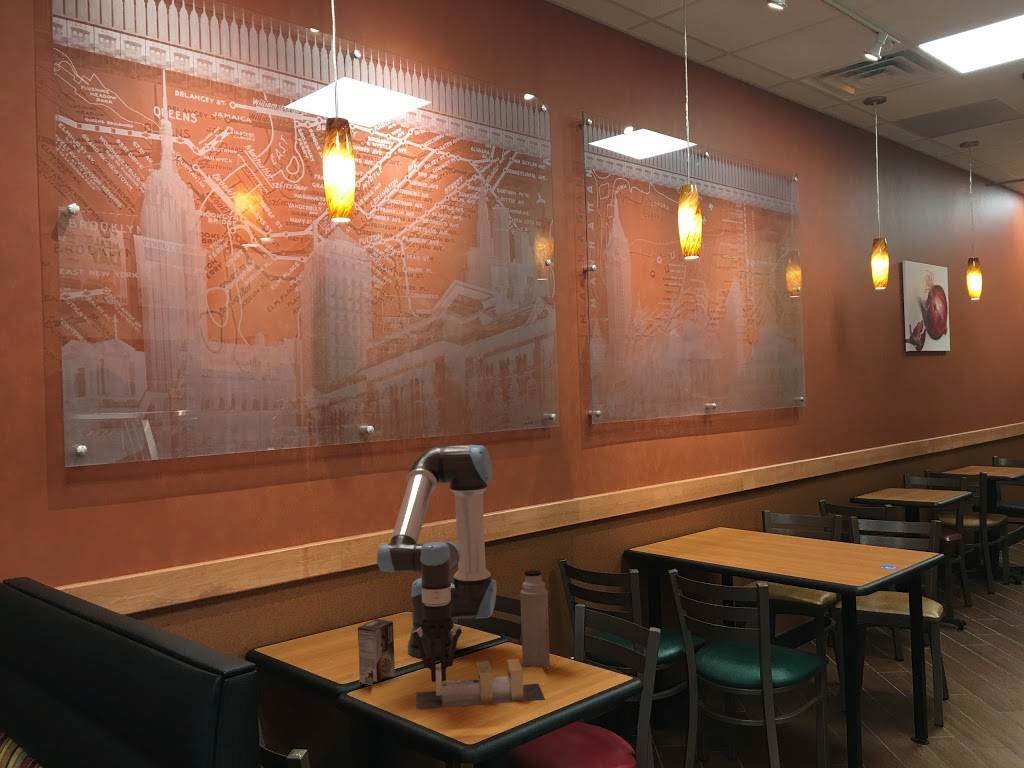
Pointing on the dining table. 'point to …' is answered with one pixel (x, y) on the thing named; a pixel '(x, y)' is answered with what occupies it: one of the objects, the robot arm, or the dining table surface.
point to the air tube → (474, 689)
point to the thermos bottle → (534, 621)
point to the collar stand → (487, 690)
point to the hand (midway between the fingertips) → (439, 693)
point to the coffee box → (376, 651)
